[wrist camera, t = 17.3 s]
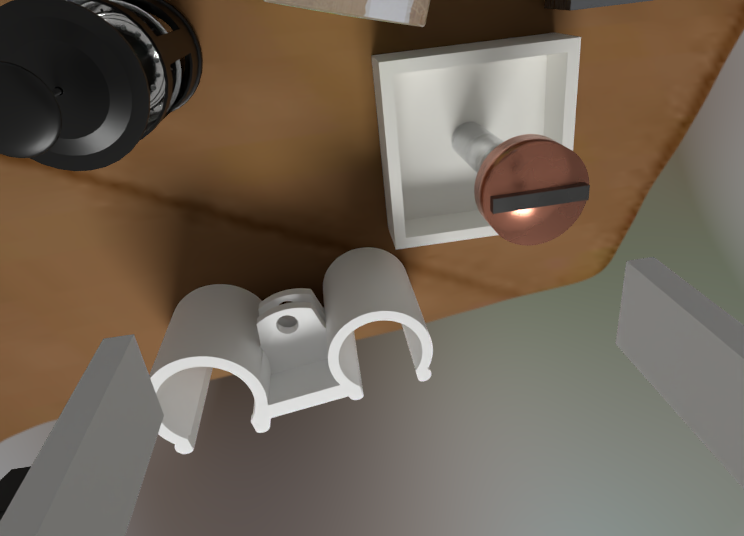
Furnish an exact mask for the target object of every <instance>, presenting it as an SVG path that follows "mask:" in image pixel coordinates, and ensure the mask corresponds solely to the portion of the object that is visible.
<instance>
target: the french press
mask: <svg viewBox="0 0 744 536" xmlns="http://www.w3.org/2000/svg"><path fill="white" fill-rule="evenodd" d="M145 11H146V12H145ZM147 12H149V13H151V14H154V15H156V16H157V17H159V18H160V19H162V20H163V21H164V22H166V23H167V24H168V25H169V26H170V27H171V28H172V30H173V31H172V32H169V33H167V32H166V30H165V29H164V28H163V27H162V26H161V24H160V23H159V22H158V21H156V20H155V19H154V18H153V17H152V16H151V15H150V14H148V13H147ZM184 56H185V71H184V75H183V78H182V80H181V65H180V59H181V58H183V57H184ZM202 61H203V60H202V53H201V48H200V45H199V42H198V39H197V36H196V34H195V32H194V31H193V29H192V27H191V25H190V24H189V22H188V21H187V20H186V19H185V17H184V16H183V15H182V14H181V13H180V12H179V11H178V10H177V9H176V8H174V7H173V6H172V5H171V4H169V3H168V2H166V1H164V0H14V1H10V2H8V3H6V4H4V5H2V6H0V154H3V155H6V156H9V157H16V158H31V159H33V160H35V161H37V162H39V163H41V164H44V165H47V166H51V167H54V168H57V169H63V170H71V171H87V170H94V169H98V168H103V167H106V166H108V165H110V164H113V163H115V162H117V161H119V160H120V159H121V158H123V157H124V156H125V155H127V154H128V153H129V152H130V151H131V150H132V149H133V148H134V147H135V145H136V144H137V143H138V142H139V140H141V139H143V138H144V137H145V136H146V135H148V134H149V133H150V132H151V131H153V130H154V129H155V128H156V127H157V125H158V124H159V123H160V122H161V121H162V120H163V119H164V118H165V117H166V116H167V115H168V114H169V113H170V112H172V111H174V110H176V109H178V108H180V107H181V106H182V105H184V104H185V103H186V102H187V101H188V100H189V99H190V98H191V97H192V95H193V94H194V93H195V91H196V89H197V87H198V85H199V82H200V78H201V74H202Z"/></svg>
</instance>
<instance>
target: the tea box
mask: <svg viewBox="0 0 744 536" xmlns="http://www.w3.org/2000/svg"><path fill="white" fill-rule="evenodd" d="M264 1H265V2H269V3H275V4H281V5H287V6H292V7H298V8H304V9H309V10H315V11H321V12H326V13H332V14H338V15H344V16H350V17H357V18H363V19H370V20H377V21H384V22H391V23H398V24H405V25H412V26H419V27H424V26H425V24H426V18H427V14H428V9H429V5H430V0H264Z"/></svg>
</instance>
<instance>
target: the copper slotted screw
mask: <svg viewBox="0 0 744 536" xmlns="http://www.w3.org/2000/svg"><path fill="white" fill-rule="evenodd" d="M452 147H453V149H454V151H455V152H456V153H457V154H458V155H459V156H460V157H461V158H462V159H463V160H464V161H465V162H466V163H467V164H468V165H469V166H470V167H471V168H472V169H473V170H475V171H476V172H477V176H476V180H475V185H474V196H475V202H476V205H477V208H478V210H479V212H480V213H481V215H482V216H483V217H484V219H485V220H486V221H487V222H488V223H489V224H490V226H491V227H492V228H493V229H494V230H495V231H496V233H497V234H499V235H500V236H501V237H502V238H504V239H505V240H507V241H509V242H512V243H515V244H519V245H537V244H541V243H545V242H548V241H550V240H552V239H554V238H556V237H558V236H559V235H561V234H562V233H564V232H565V231H566V230H567V229H568V228H569V227H571V226H572V224H573V223H574V222H575V221H576V220H577V218H578V217H579V215H580V214H581V212H582V210H583V208H584V206H585V204H586V201H587V200H588V198H589V187H590V185H589V177H588V173H587V169H586V167H585V165H584V163H583V161H582V160H581V159H580V157H579V156H578V155H577V154H576V153H574V152H573V151H572V150H570V149H569V148H567V147H565V146H563V145H561V144H560V143H558V142H556V141H554V140H553V139H551V138H549V137H546V136H543V135H538V134H524V135H519V136H516V137H513V138H510V139H508V140H506V141H503V140H501V139H500V138H498V137H497V136H495V135H494V134H493V133H491V132H490V131H488V130H487V129H485V128H484V127H483V126H481V125H480V124H478V123H476V122H466V123H463V124H461V125H460V126H458V127H457V128H456V130H455V131H454V133H453V136H452Z"/></svg>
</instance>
